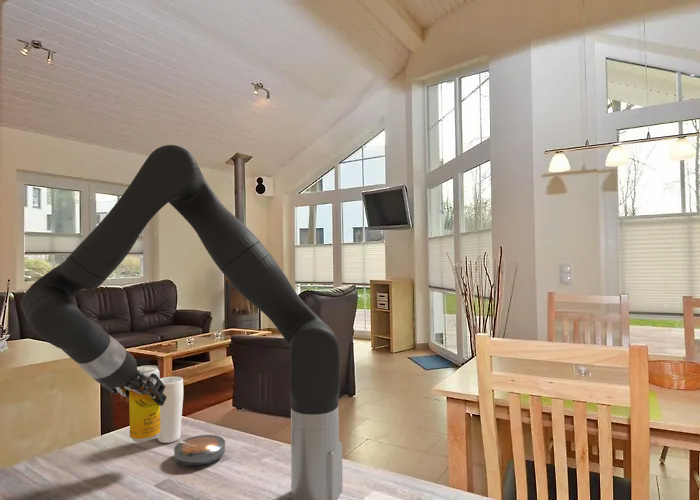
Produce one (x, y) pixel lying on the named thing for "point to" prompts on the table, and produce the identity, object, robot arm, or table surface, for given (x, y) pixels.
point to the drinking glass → (171, 410)
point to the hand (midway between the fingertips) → (150, 400)
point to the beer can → (144, 411)
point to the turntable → (199, 450)
